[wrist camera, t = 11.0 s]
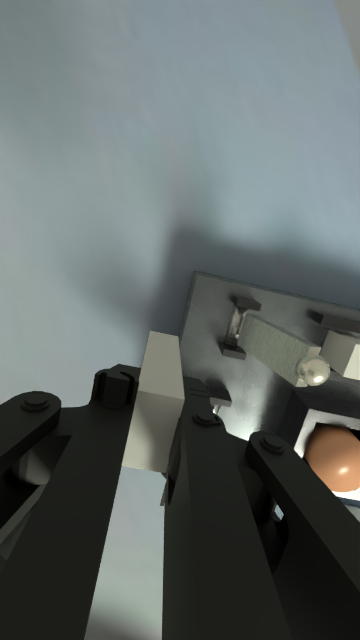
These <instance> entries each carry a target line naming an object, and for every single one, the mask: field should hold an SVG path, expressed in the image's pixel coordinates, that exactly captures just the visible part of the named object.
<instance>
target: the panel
mask: <svg viewBox="0 0 360 640" xmlns="http://www.w3.org/2000/svg"><path fill="white" fill-rule="evenodd" d="M246 314H251V315H256V316H258V317H260V318H262V319H264V320H266V321H269V322H271V323H273V324H275V325H277V326H279V327H281V328H283V329H285V330H287V331H289V332H291V333H293V334H295V335H297V336H299V337H301V338H303V339H305V340H307V341H309V342H311V343H313V344H315V345H317V346H319V347H321V350H322V347H323V344H324V342H325V339H326V336H327V334H328V331H329V330H334V331H338V332H342V333H347V334H351V335H355V336H357V337H359V338H360V309H356V308H351V307H347V306H343V305H338V304H334V303H330V302H325V301H321V300H317V299H313V298H308V297H304V296H300V295H295V294H291V293H287V292H283V291H278V290H274V289H270V288H265V287H261V286H257V285H253V284H248V283H244V282H240V281H235V280H231V279H227V278H223V277H218V276H214V275H210V274H205V273H201V272H197V271H194V275H193V279H192V283H191V288H190V292H189V296H188V300H187V304H186V308H185V313H184V317H183V321H182V325H181V329H180V333H179V338H178V340H179V349H180V359H181V369H182V376H187V377H192V378H197V379H200V380H201V381H202V382H203V383H204V384H205V385H206V388H207V393H208V396H209V399H210V403H211V405H212V406H214V407H216V408H215V411H214V413H215V414H217V415H218V416H219V417H220V418H221V419H222V420H223V422H224V424H225V427H226V431H227V432H228V433H230V434H232V435H234V436H237V437H239V438H242V439H244V440H247V441H248V440H249V437H250V434H252V433H253V432H255V431H264V432H270V433H273V434H275V435H277V436H278V437H280V438H282V439H283V440H285V441H286V442H287V443H288V444H289V445H290V446H291V447H292V448H293V449H294V450H295V451H296V452H297V453H298V455H299V456H300V457H301V458H302V459H303V460H304V461H305V462H306V463H307V464H308V466H309V467H310V465H309V463H308V462H307V460H306V459H305V457H304V455H303V454H304V452H305V449H306V447H307V444H308V442H309V439H310V437H311V434H312V432H313V429H314V426H315V424H316V422H321V423H326V424H331V425H335V426H340V427H345V428H348V430H349V431H350V432H351V433H352V434H353V435H354V436H355V437H356V438H357V439H358V440H359V441H360V380H356V379H351V378H347V377H343V376H341V375H340V374H339V373H338V372H336V371H335V370H334V369H332V368H331V367H330V366H329V367H330V375H329V377H328V379H327V380H326V381H325V382H324V383H322V384H320V385H317V386H311V385H307V387H295V386H294V385H293V384H291V383H290V382H288V381H287V380H286V379H284V378H283V377H281V376H280V375H279V374H277V373H276V372H274V371H273V370H272V369H270V368H269V367H267V366H266V365H265V364H263V363H262V362H260V361H259V360H258V359H256V358H255V357H253V356H252V355H251V354H249V353H248V352H246V351H245V350H244V349H242V348H241V347H239V346H238V345H237V343H238V339H239V336H240V333H241V329H242V326H243V322H244V319H245V316H246ZM321 350H320V352H321ZM319 355H320V353H319ZM310 468H311V467H310ZM311 469H312V468H311ZM332 492H333V493H334V494H335V495H336V496H337V497H343V498H348V499H354V500H359V501H360V488H358V489H356V490H353V491H350V492H343V493H342V492H334V491H332Z"/></svg>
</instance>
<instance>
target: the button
mask: <svg viewBox="0 0 360 640" xmlns="http://www.w3.org/2000/svg"><path fill="white" fill-rule="evenodd" d="M303 455H304V457H305V459H306V460H307V462H308V463H309V465H310V467H311V468H312V470H313V471H314V472H315V473H316V474H317V476H318V477H319V478H320V479H321V480H322V481H323V482H324V483H325V484H326V485H327V487H328V488H329V489H330V490H331V491H334V492H342V493H343V492H350V491H353V490H356V489H358V488H360V441H359V440H358V439H357V438H356V437H355V436H354V435H353V434H352V433H351V432H350V431H349V430H348V428H345V427H340V426H335V425H331V424H326V423H321V422H316V424H315V426H314V429H313V432H312V434H311V437H310V439H309V442H308V444H307V447H306V449H305V452H304V454H303Z"/></svg>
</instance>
